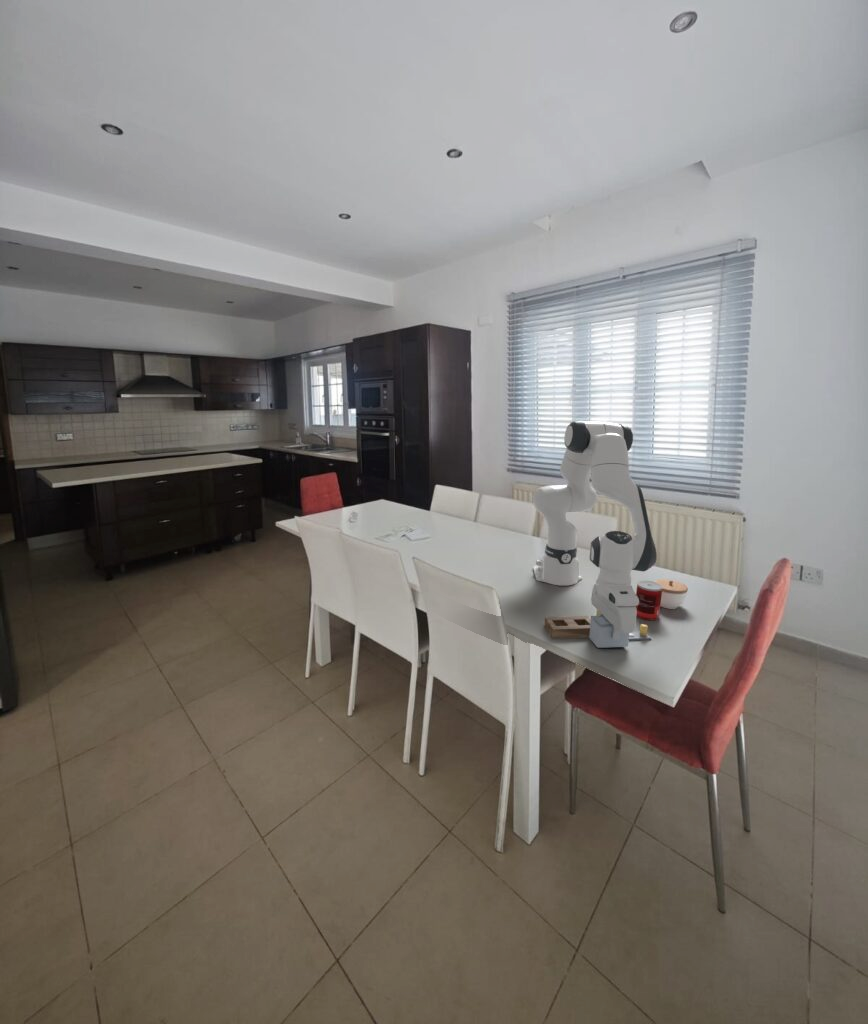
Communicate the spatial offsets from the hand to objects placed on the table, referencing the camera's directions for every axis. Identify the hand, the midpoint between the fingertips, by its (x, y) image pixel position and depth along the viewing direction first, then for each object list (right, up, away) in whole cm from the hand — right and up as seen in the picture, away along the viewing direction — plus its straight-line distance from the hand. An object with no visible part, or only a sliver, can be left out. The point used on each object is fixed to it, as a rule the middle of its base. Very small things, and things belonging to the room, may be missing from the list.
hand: (609, 632), depth 134 cm
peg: (+3, -1, +15) cm, 15 cm away
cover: (0, -3, +1) cm, 3 cm away
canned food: (+20, 0, +20) cm, 29 cm away
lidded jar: (+32, +2, +28) cm, 42 cm away
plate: (+11, -3, +6) cm, 12 cm away
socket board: (-9, -2, +9) cm, 13 cm away
